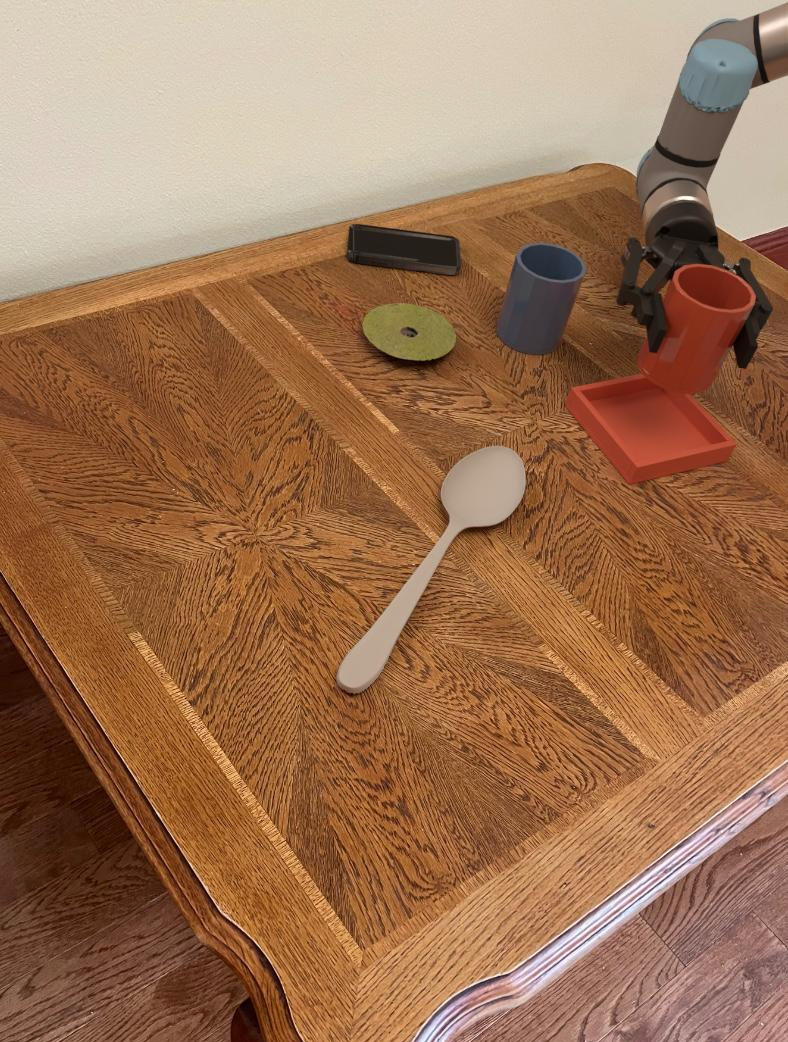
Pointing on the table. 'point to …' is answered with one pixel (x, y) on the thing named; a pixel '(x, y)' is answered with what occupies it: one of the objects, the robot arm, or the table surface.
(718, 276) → the rust cup
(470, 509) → the spoon
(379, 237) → the phone
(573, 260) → the blue cup
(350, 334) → the table surface
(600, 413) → the red tray
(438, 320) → the green grinding disc
